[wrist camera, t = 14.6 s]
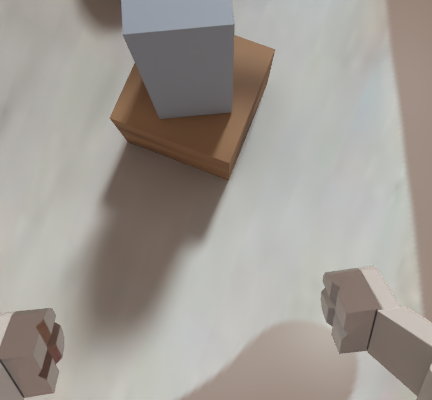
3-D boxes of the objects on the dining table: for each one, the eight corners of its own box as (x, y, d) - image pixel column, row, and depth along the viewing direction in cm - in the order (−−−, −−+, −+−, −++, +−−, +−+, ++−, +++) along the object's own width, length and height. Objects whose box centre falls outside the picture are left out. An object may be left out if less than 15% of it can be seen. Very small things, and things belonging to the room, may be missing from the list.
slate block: (232, 112, 25) (234, 24, 16) (159, 119, 25) (122, 34, 16) (225, 46, 26) (224, -73, 17) (155, 52, 26) (118, -63, 17)
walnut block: (228, 180, 30) (229, 163, 25) (128, 142, 30) (109, 118, 25) (266, 84, 31) (275, 49, 26) (169, 49, 31) (159, 8, 26)
